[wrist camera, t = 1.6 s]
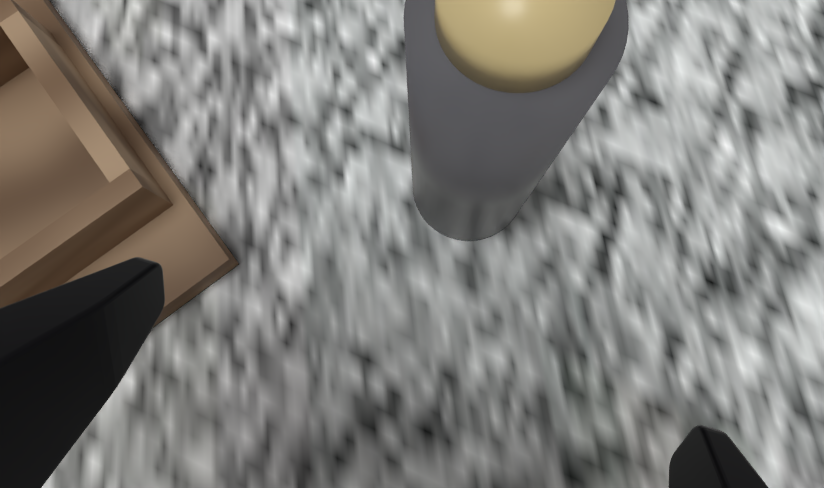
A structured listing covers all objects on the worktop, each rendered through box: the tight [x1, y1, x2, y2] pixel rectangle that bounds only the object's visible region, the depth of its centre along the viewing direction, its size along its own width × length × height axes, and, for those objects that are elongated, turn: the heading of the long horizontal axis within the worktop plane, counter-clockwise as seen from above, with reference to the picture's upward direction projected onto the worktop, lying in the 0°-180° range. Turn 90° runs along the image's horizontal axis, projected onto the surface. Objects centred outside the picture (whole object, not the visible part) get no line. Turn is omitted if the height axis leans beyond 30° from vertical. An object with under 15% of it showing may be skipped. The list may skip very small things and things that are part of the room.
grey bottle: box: [404, 0, 628, 241], centre depth 17 cm, size 4×4×13 cm
